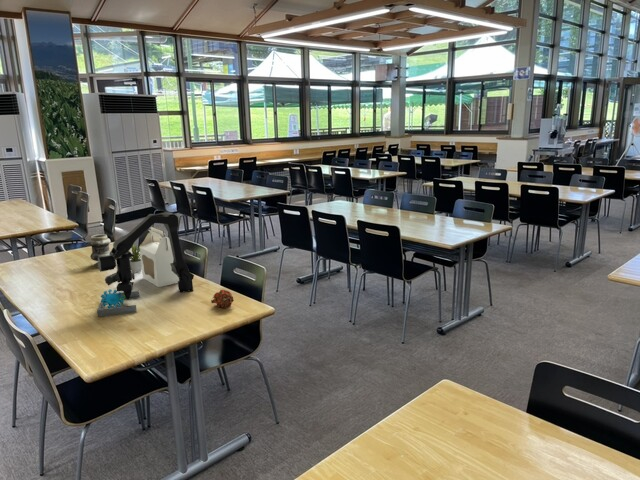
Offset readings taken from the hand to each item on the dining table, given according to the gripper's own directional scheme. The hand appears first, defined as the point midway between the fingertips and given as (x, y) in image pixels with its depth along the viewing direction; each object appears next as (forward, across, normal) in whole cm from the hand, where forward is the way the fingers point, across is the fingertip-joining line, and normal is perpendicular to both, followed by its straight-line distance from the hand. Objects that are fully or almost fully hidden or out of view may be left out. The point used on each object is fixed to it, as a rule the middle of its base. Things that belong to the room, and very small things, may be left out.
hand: (128, 299), depth 215 cm
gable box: (+2, -32, +14) cm, 35 cm away
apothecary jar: (+2, -76, -21) cm, 79 cm away
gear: (+2, +2, -6) cm, 7 cm away
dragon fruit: (+2, +19, +41) cm, 46 cm away
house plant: (+2, -54, +1) cm, 54 cm away
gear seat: (+2, +2, -4) cm, 5 cm away
